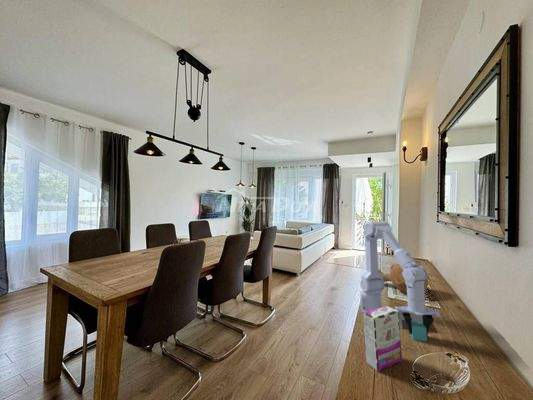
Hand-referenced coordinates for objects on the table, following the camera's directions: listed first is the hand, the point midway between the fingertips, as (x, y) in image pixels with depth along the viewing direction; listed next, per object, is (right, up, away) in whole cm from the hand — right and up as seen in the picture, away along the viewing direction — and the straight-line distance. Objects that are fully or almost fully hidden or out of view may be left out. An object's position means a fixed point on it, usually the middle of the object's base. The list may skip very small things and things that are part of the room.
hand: (417, 333), depth 89 cm
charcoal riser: (+4, -2, +10) cm, 11 cm away
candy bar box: (-20, -2, -14) cm, 24 cm away
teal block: (0, -1, 0) cm, 1 cm away
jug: (+23, -3, +50) cm, 55 cm away
